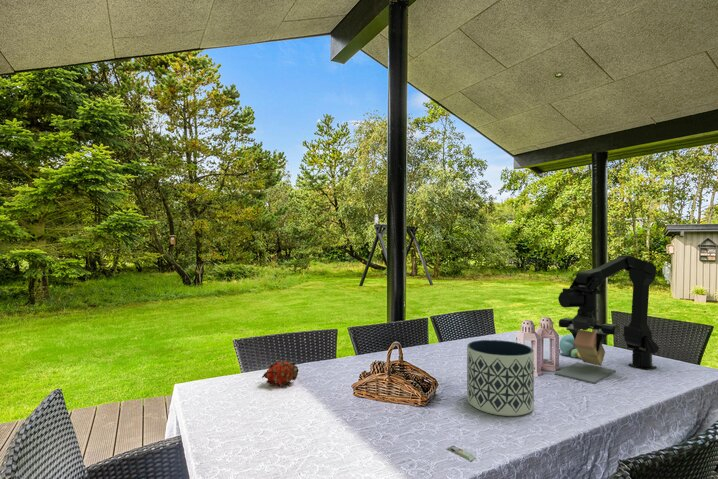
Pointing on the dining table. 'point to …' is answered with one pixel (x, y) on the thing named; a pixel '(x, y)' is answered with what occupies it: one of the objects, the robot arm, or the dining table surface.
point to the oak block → (589, 347)
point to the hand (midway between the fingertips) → (588, 349)
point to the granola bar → (461, 452)
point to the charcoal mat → (585, 372)
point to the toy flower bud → (569, 346)
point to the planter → (500, 377)
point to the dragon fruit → (281, 373)
